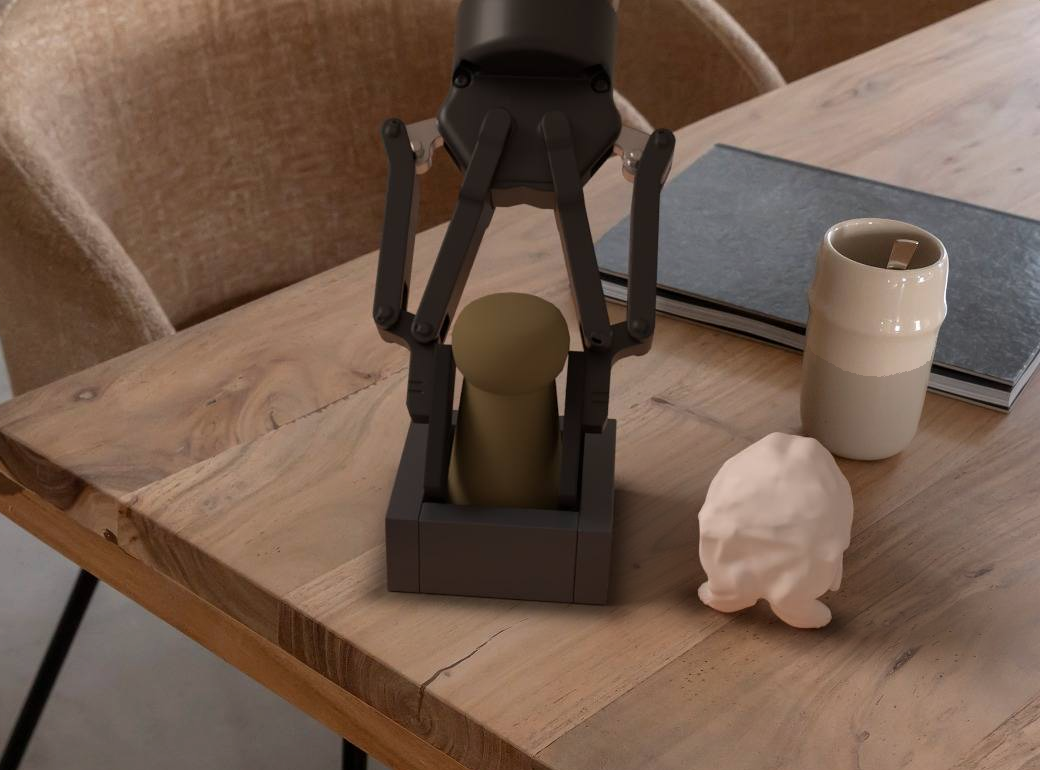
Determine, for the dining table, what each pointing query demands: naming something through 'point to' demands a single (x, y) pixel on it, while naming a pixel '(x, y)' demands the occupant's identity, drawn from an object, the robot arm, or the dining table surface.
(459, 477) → the cork
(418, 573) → the socket base
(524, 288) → the dining table surface
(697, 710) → the dining table surface
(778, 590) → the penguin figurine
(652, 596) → the dining table surface
